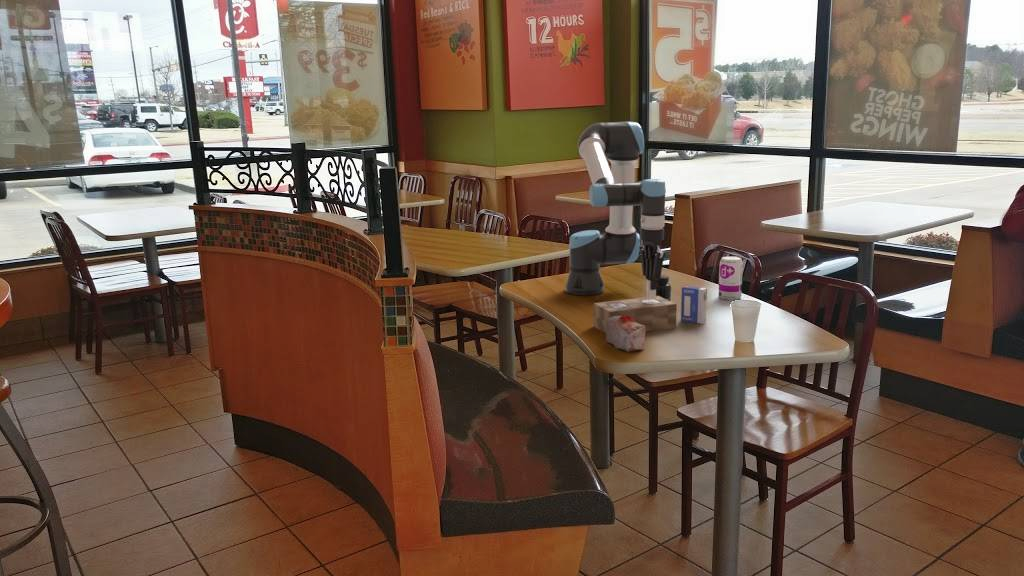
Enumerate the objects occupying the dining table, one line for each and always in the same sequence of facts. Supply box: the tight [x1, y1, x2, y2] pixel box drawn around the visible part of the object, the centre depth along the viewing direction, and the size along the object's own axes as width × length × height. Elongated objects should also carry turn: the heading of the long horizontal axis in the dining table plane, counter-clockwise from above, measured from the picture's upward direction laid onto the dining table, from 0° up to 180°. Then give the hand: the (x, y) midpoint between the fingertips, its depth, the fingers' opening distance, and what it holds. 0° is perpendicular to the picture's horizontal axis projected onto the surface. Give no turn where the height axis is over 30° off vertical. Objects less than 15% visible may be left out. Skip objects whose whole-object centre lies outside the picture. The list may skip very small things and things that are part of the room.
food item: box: [605, 315, 647, 353], centre depth 248 cm, size 14×8×10 cm, turn 27°
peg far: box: [641, 299, 661, 304], centre depth 270 cm, size 5×5×7 cm
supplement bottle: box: [656, 274, 672, 302], centre depth 289 cm, size 7×7×12 cm
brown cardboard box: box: [593, 296, 678, 335], centre depth 269 cm, size 12×24×8 cm, turn 110°
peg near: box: [608, 303, 629, 308], centre depth 267 cm, size 5×5×7 cm
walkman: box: [680, 285, 708, 325], centre depth 273 cm, size 8×3×12 cm, turn 56°
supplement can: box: [717, 255, 744, 301], centre depth 303 cm, size 8×8×15 cm
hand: (651, 298), depth 270 cm, fingers closed
